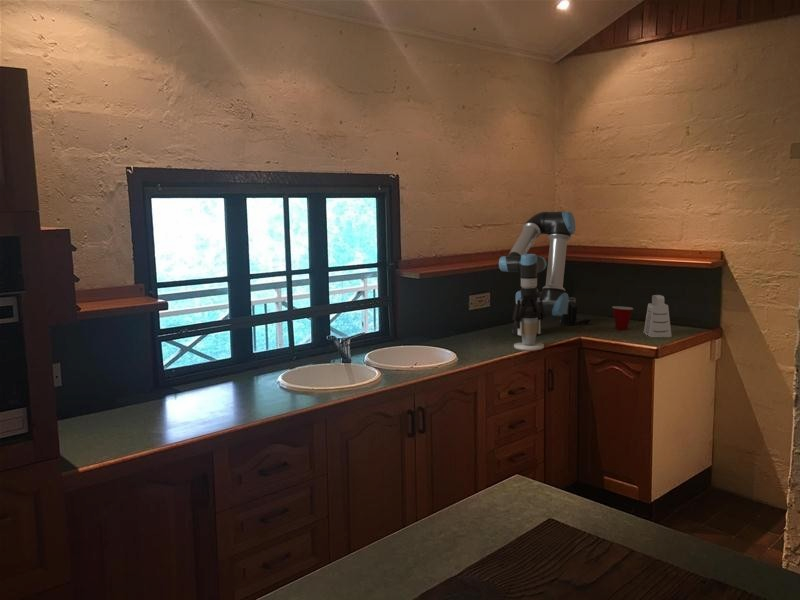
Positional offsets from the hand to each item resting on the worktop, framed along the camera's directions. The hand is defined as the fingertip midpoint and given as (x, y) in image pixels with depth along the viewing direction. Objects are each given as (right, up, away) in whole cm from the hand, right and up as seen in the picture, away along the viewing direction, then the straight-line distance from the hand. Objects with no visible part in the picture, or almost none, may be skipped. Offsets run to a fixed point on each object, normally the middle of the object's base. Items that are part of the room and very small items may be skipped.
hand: (529, 334), depth 325 cm
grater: (+69, -2, +22) cm, 73 cm away
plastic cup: (+57, 0, +41) cm, 71 cm away
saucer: (0, -6, +1) cm, 6 cm away
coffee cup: (0, -5, +1) cm, 5 cm away
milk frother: (+37, +2, +60) cm, 70 cm away
